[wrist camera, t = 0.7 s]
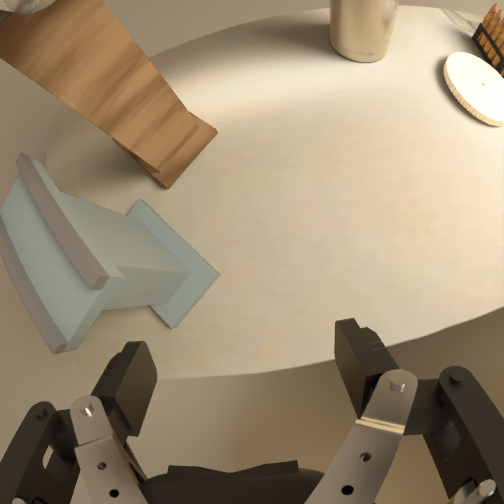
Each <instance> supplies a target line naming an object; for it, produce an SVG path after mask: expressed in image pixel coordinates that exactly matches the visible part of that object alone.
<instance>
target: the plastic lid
mask: <svg viewBox="0 0 504 504" xmlns="http://www.w3.org/2000/svg"><path fill="white" fill-rule="evenodd" d="M443 69H444V70H443V71H444V77H445V80H446V82H447V85H448V86H449V89H451V90H450V91H451V92H452V93H453V95H454V96H455V98H457V99H458V102H460V104H461V105H463V107H464V108H466V110H467V111H469V112H470V113H472V114H473V116H476V118H479V120H482V121H483V122H485V123H488V124H489V125H490V124H491V125H494V126H503V125H504V79H503V78H502V77H501V75H500V74H499V73H498V72H497V71H496V70H495V69H494V68H493V67H491V65H489V64H488V63H487V62H485V61H484V60H482V59H480V58H479V57H476V56H474V55H471V54H470V53H469V54H468V53H465V52H456V53H452V54H451V55H449V57H448V58H447V60H446V62H445V65H444V68H443Z"/></svg>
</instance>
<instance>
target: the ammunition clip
mask: <svg viewBox="0 0 504 504" xmlns="http://www.w3.org/2000/svg"><path fill="white" fill-rule="evenodd" d="M496 11H497V3H496V4H494V5H493V6H492V7H491V9H490V11H489V12H488V14H487V15H486V16H485V18H484V20H483V22H482V24H481V23H480V24H479V26H478V28H477V30H476V32H475V33H474V35H473V37H472V39H473V41H474V42H475V44H476V45H477V47H478V49H479V50H480V52H481V53H482V55H483V57H484V58H485V60H486V62H487V63H488V64H489V65H491V67H493V68H494V69H495V70H496V71H497V72H498V73H499V74H500V75H501V77H502V78H503V79H504V18H503V19H502V20H501V18H502V13H503V11H502V10H499V12H497V14H496ZM495 14H496V15H495ZM494 16H495V17H494ZM500 20H501V21H500ZM499 22H500V23H499Z"/></svg>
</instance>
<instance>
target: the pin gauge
mask: <svg viewBox="0 0 504 504" xmlns="http://www.w3.org/2000/svg"><path fill="white" fill-rule="evenodd" d="M54 1H55V0H0V10H4V11H10V12H16V13H22V14H27V13H33V12H36V11H39V10H41V9H44V8H45V7H47V6H49V5H50V4H52V3H53V2H54Z"/></svg>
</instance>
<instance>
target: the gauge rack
mask: <svg viewBox="0 0 504 504" xmlns="http://www.w3.org/2000/svg"><path fill="white" fill-rule="evenodd" d="M16 164H17V167H18V169H19V171H20V173H19V175H18V176H17V178H16V180H15V182H14V184H13V185H12V188H11V189H10V192H9V193H8V195H7V197H6V199H5V201H4V203H3V205H2V208H1V210H0V253H1V256H2V258H3V261H4V263H5V266H6V268H7V270H8V272H9V275H10V277H11V279H12V281H13V283H14V285H15V287H16V290H17V292H18V294H19V296H20V298H21V300H22V302H23V304H24V306H25V307H26V309H27V311H28V313H29V315H30V317H31V319H32V320H33V322H34V324H35V326H36V327H37V329H38V331H39V332H40V334H41V336H42V337H43V339H44V341H45V342H46V344H47V345H48V347H49V349H50V350H51V352H52V353H53V354H56V353H61V352H66V351H70V350H74V349H77V348H78V347H79V345H80V344H81V342H82V340H83V339H84V337H85V336H86V334H87V332H88V331H89V329H90V328H91V326H92V325H93V323H94V321H95V320H96V318H97V317H98V315H99V314H100V312H101V311H103V310H113V309H122V308H131V307H140V306H148V305H150V306H151V307H152V309H153V310H154V311H155V312H156V313H157V314H158V315H159V316H160V317H161V318H162V319H163V320H164V321H165V323H166V324H167V325H168V326H169V327H170V328H171V329H173V328H176V327H177V325H178V324H179V323H180V322H181V321H182V320H183V318H184V317H185V316H186V315H187V314H188V312H189V311H190V310H191V309H192V308H193V306H194V305H195V304H196V303H197V302H198V300H199V299H200V298H201V297H202V296H203V295H204V293H205V292H206V291H207V290H208V289H209V287H210V286H211V285H212V284H213V283H214V282H215V280H216V279H217V278H218V277H219V276H220V274H219V273H218V272H217V271H216V270H215V269H214V268H213V267H212V266H211V265H210V264H209V263H208V262H207V261H206V260H205V259H203V258H202V257H201V256H200V255H199V254H198V253H197V252H196V251H195V250H194V249H193V248H192V247H191V246H190V245H189V244H188V243H187V242H186V241H184V240H183V239H182V238H181V237H180V236H179V235H178V234H177V233H176V232H175V231H174V230H173V229H172V228H171V227H170V226H169V225H168V224H167V223H166V222H165V221H164V220H163V219H162V218H161V217H160V216H159V215H158V214H157V213H156V212H155V211H154V210H153V209H152V208H151V207H150V206H149V205H148V204H147V203H146V202H145V201H143V200H141V199H139V200H138V201H137V203H136V204H135V205H134V207H133V208H132V209H131V211H130V212H129V213H128V215H127V216H125V215H122V214H120V213H117V212H114V211H112V210H109V209H106V208H104V207H101V206H98V205H96V204H93V203H90V202H88V201H85V200H82V199H80V198H77V197H74V196H72V195H69V194H66V193H64V192H61V191H59V190H58V188H57V187H56V185H55V184H54V182H53V181H52V179H51V178H50V176H49V175H48V173H47V171H46V170H45V168H44V167H43V165H42V163H41V162H40V161H38V160H36V159H34V158H32V157H29V156H27V155H25V154H23V153H21V154H20V156H19V158H18V159H17V161H16Z"/></svg>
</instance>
